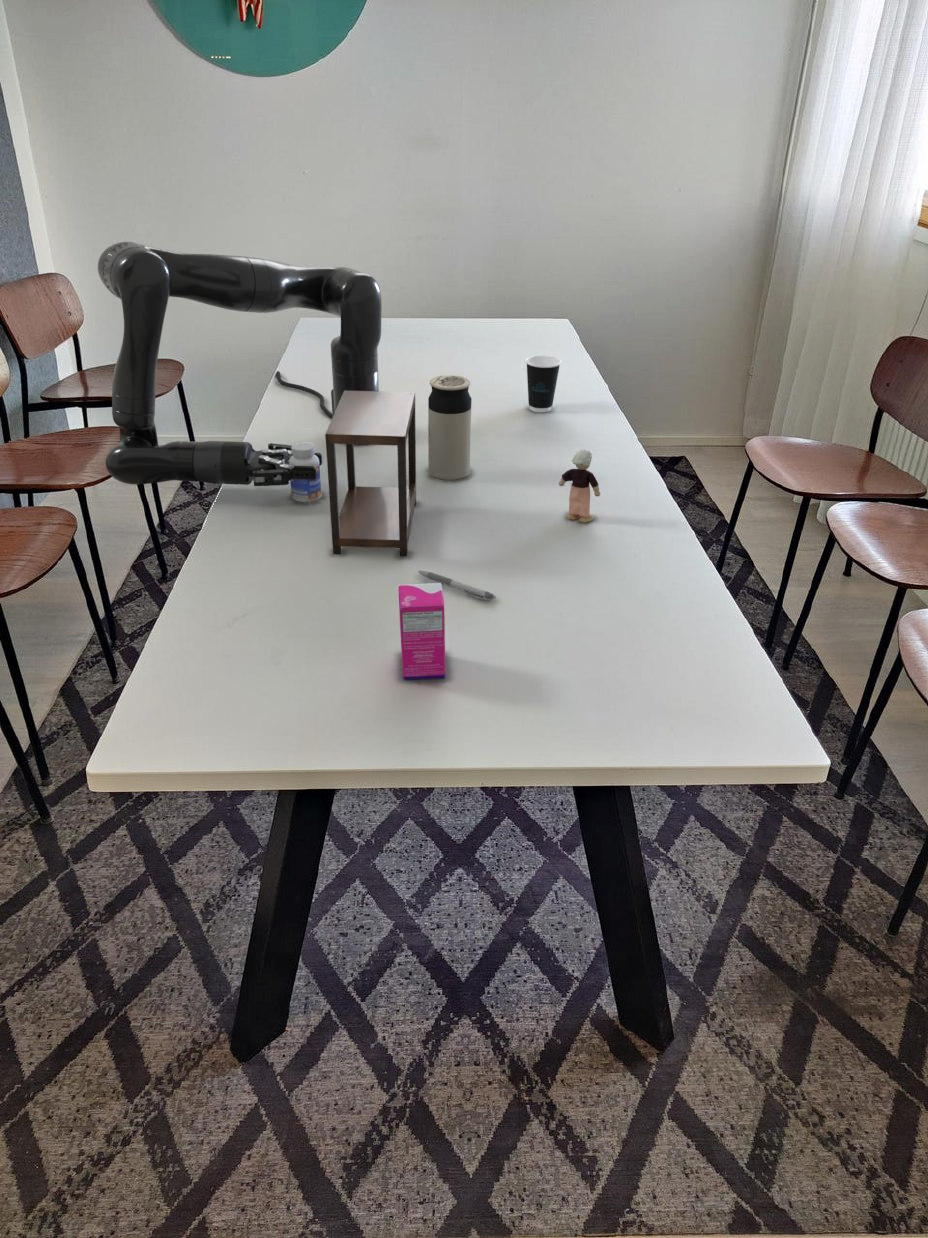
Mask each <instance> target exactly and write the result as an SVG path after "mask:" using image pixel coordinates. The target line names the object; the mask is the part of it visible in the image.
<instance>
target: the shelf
mask: <svg viewBox="0 0 928 1238" xmlns="http://www.w3.org/2000/svg"><path fill="white" fill-rule="evenodd" d="M416 425H417V423H416V392H409V391H408V392H407V391H406V392H405V391H379V392H378V391H345V390H344V392H343V394H342V397H341V399H340V401H339V404H338V406H337V408H336V411H335V413H334V415H333V418H331V420H330V422H329V424H328V427H327V429H326V432H325V434H324V435H325V437H324V438H325V451H326V452H325V453H326V467H327V481H328V496H329V512H330V527H331V542H332V543H331V544H332V555H341V554H342V547H349V548H374V549H375V548H377V549H379V548H380V549H399V557H402V558H403V557H404V558H406V557H408V554H409V553H408V551H409V550H408V545H409V539H410V533H411V528H412V522H413V516H414V512H415V511H414V510H415V507H416V505H417V446H416V445H417V444H416V443H417V441H416V440H417V438H416V437H417V435H416V432H417V431H416V429H417V428H416V427H417V426H416ZM354 444H359V445H362V446H363V445H365V446H366V445H367V446H370V445H371V446H396V447H397V487H389V486H388V487H387V486H357V484H356V465H355V445H354ZM336 445H345V454H346V473H347V492H346V493H345V494H346V495H345V498H344V501H343V504H342V506H341V510H340V505H339V502H340V501H339V488H338V487H339V486H338V472H337V471H338V469H337V453H336ZM407 447H408V448H407ZM407 451H408V453H407ZM407 454H408V460H407ZM407 461H408V487H407Z"/></svg>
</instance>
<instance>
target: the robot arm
mask: <svg viewBox="0 0 928 1238" xmlns="http://www.w3.org/2000/svg"><path fill="white" fill-rule="evenodd" d="M97 273H98V276H99V279H100V280H101V282H102V284H103V285H104V287H105V288H106V289H107V290H108V291H109V292H110V293H111V294H112V295H113V296H115V297H116V298H118V299H120V301H121V307H122V316H123V335H122V342H121V347H120V349H119V352H118V353H119V354H118V357H117V360H116V363H115V366H114V370H113V375H112V385H111V386H112V388H111V391H112V392H111V414H112V420H113V422H114V424H115V425H116V426H117V427H119V443H117V444H116V445H115V446H113V447H112V448H111V449H110V450H109V452H108V453H107V456H106V457H105V467H106V471H107V472H108V474H109V475H110V476H111V477H112V478H113V479H114V480H116V481H117V482H120V483H123V484H125V485H126V484H127V485H136V486H137V485H149V484H157V483H159V484H160V483H166V482H171V481H179V482H198V483H199V482H200V483H206V484H217V485H218V484H219V485H241V486H242V485H243V486H244V485H245V486H249V485H251V484H252V483H253V486H254V487H272V486H273V487H274V486H288V485H290V481H293V480H295V479H311V480H314V479H316V476H317V473H316V467H314V466H295V467H293V466H292V465H289V459H290V457H292V456H293V455H292V450H291V447H292V445H293V444H292V445H291V444H281V443H274V442H271V443H268V444H267V449H262V450H261V449H260V450H255V449H254V447H253V444H252V443H250V442H249V441H227V440H226V441H225V440H205V441H188V440H187V441H186V440H176V441H170V442H167V443H165V444H163V445H159V440H158V433H157V427H156V421H155V415H156V414H155V413H156V394H157V393H156V392H157V391H156V390H157V389H156V388H157V370H158V359H159V353H160V345H161V339H162V335H163V328H164V322H165V316H166V313H167V307H168V303H169V298H180V299H186V300H190V301H194V302H198V303H201V304H203V305H208V306H212V307H217V308H219V309H224V310H227V311H228V310H229V311H235V312H244V313H255V314H258V313H259V314H268V313H269V314H270V313H271V314H272V313H276V312H281V311H286V310H290V309H306V310H307V309H308V310H314V311H319V312H323V313H327V314H330V315H333V316H336V317H338V318H340V335H338V336H336V337H333V339H332V340H330V341H331V342H330V359H331V362H330V363H331V376H332V377H331V378H332V389H331V390H330V398H331V412H330V410H328V408H327V406H326V405H325V397H324V395H322V394H321V393H320V392H319V391H317V390H315V389H312V388H310V387H307V386H304V385H302V384H295V383H292V382H291V383H290V382H287V381H284V380H283V379H282V377H281V372H280V371H278V370H277V371H276V372H275V375H274V376H275V377H276V380H277V382H278V384H280V385H281V386H283V387H285V388H291V389H295V390H300V391H303V392H306V393H309V394H311V395H314V396H315V397H317V398H318V399H319V407H320V409H321V410H322V412H323V413H324V414H325V415H326V416H327V417H328V418H329V419H332V418H333V415H334V413H335V411H336V408H337V406H338V404H339V401H340V399H341V397H342V394H343V392H344V390H345V391H378V392H380V386H379V385H380V384H379V382H380V381H379V357H378V356H379V355H378V354H379V353H378V349H379V348H378V347H379V345H380V343H381V342H380V341H381V339H382V314H383V311H382V309H383V305H382V292H381V288H380V285H379V283H378V281H377V280H376V279H375V278H374V277H373V276H372V275H370V274H368V273H365V272H362V271H359V270H358V269H357V270H356V269H354V268H350V267H346V266H345V267H344V266H332V267H327V266H326V267H303V266H302V267H301V266H297V265H293V264H289V263H285V262H281V261H277V260H271V259H265V258H260V257H251V256H241V255H229V254H213V253H212V254H209V253H185V252H177V251H171V250H167V249H162V248H156V247H153V246H148V245H144V244H141V243H137V242H133V241H120V242H116V243H113V244H111V245H110V246H108V247H107V248H105V250H104V251H102V253H101V254H100V256H99V258H98V262H97ZM356 445H357V446H358V445H359V446H360V444H354V446H356ZM314 455H316V456H317V457H318V458H319V463H320V466H322V464H323V454H322V453H321V452H315V454H314Z"/></svg>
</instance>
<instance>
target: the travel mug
mask: <svg viewBox="0 0 928 1238" xmlns="http://www.w3.org/2000/svg"><path fill="white" fill-rule="evenodd" d="M471 383H472V382H471V380H470V379H469V378H467V377H465V376H461V375H454V374H444V375H443V374H442V375H437V376H435V377H432V378H431V379H430V380H429V385H430V387H431V392H430V393H429V396H428V399H427V403H428V404H427V406H428V407H427V408H428V410H427V413H428V417H427V419H428V420H427V421H428V422H427V423H428V427H427V428H428V430H427V431H428V434H427V435H428V439H427V441H428V444H427V445H428V450H427V451H428V452H427V453H428V454H427V455H428V458H427V459H428V462H427V463H428V473H429V475H430V476H432V477H434V478H436V479H439V480H445V481H454V480H455V481H456V480H461V479H463V478H465V477H467V476H468V475H469V474H470V473H471V440H472V439H471V435H472V433H471V432H472V397H471V394H470V393H469V388H470V386H471Z"/></svg>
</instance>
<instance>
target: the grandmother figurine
mask: <svg viewBox="0 0 928 1238" xmlns="http://www.w3.org/2000/svg"><path fill="white" fill-rule="evenodd" d="M592 459H593V454H592V452H591V450H589V449H586V448H582V449H580V450H577V451H576V453H574V455H573V457H572V460H571V462H572V464H573V465H575V467H576V468H570V469H568V470H566V471H565V472H564V473H563V474H562V475H561V478H560V480H559V481H558V486H560V487H564V486H565V483H566V482H571V485H570V490H569V496H568V515H567V520H570V521H575V520H578V521H579V522H580V523H583V524H584V523H585V524H586V523H589V522H591V521H593V520H594V517H593V515H592V514H591V510H590V509H591V488H592V491H593V492H594V493H593V495H594V496H595V497H598V498H599V497H600V496H601V491H600V487H599V482H598V481H597V478H596V476H595V475H594V473H593V472H591V471H589V470H588V469H589V467H590V466H591V463H592ZM590 486H591V487H590Z"/></svg>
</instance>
